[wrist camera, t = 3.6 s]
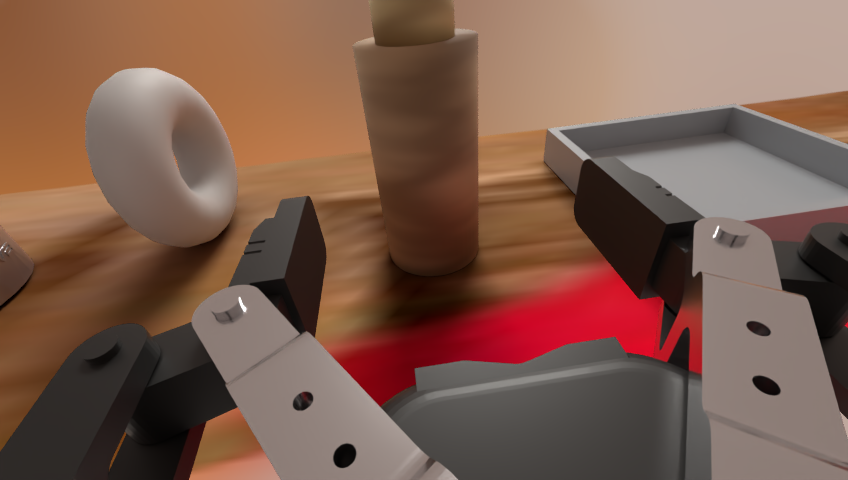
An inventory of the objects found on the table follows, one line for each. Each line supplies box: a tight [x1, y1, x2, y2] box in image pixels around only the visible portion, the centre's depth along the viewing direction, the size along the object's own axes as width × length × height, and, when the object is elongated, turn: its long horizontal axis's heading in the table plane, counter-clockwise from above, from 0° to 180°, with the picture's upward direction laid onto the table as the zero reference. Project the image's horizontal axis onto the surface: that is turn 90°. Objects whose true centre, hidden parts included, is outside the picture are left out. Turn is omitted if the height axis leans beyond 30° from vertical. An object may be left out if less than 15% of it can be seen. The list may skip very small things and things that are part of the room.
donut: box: [86, 68, 238, 247], centre depth 21 cm, size 10×3×10 cm, turn 5°
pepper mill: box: [353, 0, 478, 276], centre depth 18 cm, size 5×5×12 cm
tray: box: [544, 104, 848, 242], centre depth 23 cm, size 14×13×2 cm
